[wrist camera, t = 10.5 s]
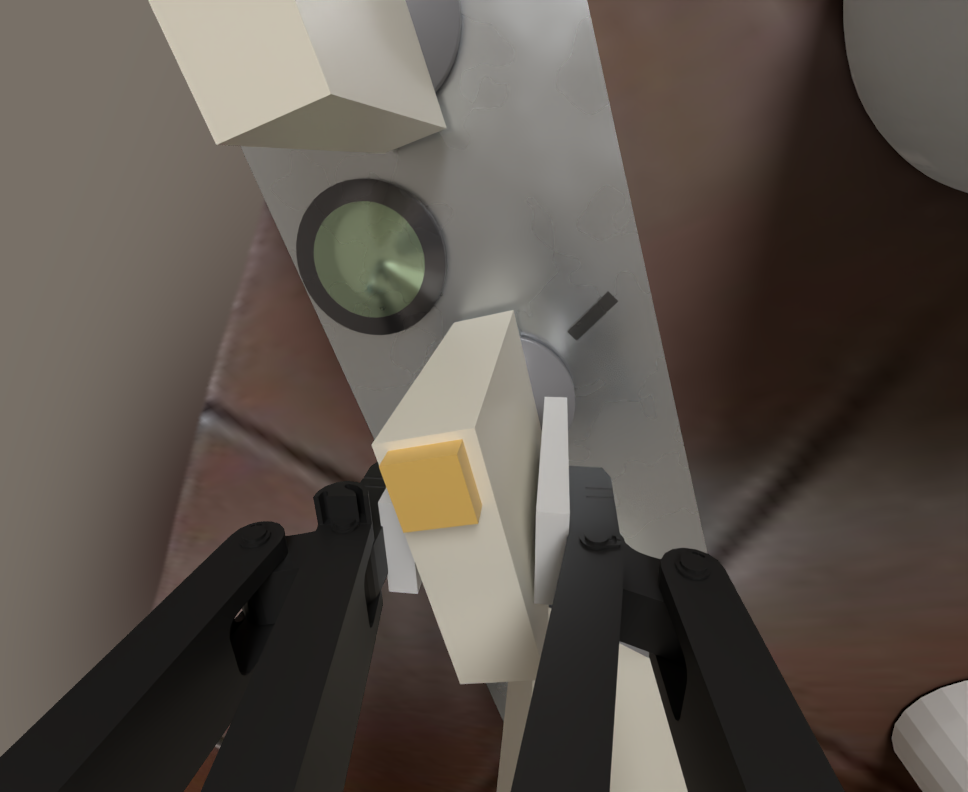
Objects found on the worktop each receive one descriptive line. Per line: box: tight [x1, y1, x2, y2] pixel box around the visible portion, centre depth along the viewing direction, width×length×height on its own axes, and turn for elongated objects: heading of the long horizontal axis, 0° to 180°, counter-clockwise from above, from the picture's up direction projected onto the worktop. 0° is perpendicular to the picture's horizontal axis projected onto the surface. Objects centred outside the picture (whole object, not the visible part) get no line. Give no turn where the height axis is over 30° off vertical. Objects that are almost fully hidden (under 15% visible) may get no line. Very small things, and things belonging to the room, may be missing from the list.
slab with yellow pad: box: [497, 607, 688, 792], centre depth 20 cm, size 5×7×10 cm
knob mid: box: [372, 310, 575, 684], centre depth 16 cm, size 5×7×10 cm
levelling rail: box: [241, 0, 708, 722], centre depth 20 cm, size 12×38×1 cm, turn 19°
